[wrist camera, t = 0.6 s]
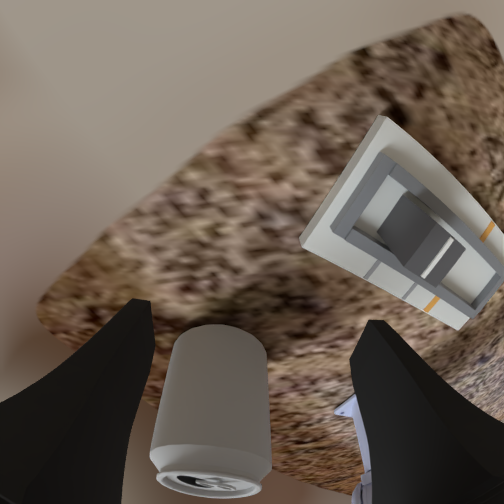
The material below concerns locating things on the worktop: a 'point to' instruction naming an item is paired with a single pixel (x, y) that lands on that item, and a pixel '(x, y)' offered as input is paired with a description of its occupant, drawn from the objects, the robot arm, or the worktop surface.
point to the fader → (420, 242)
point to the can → (214, 415)
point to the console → (426, 198)
